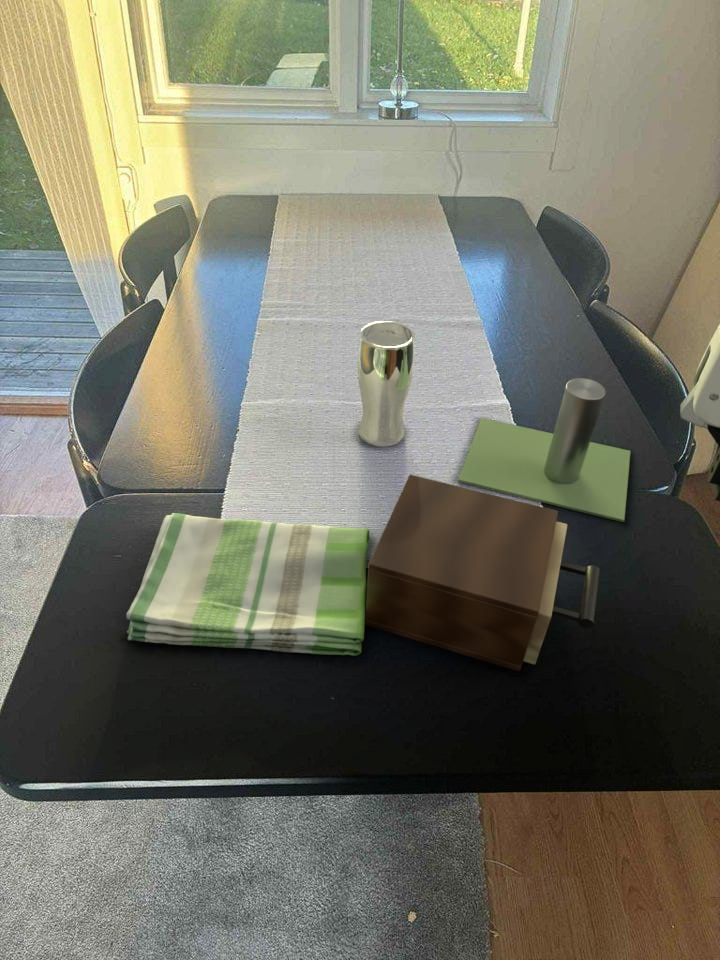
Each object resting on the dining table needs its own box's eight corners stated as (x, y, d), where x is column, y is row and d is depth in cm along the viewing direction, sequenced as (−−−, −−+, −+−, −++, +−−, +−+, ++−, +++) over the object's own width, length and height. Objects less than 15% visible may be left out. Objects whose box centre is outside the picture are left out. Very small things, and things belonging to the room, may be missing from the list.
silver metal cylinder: (580, 466, 89) (607, 382, 81) (577, 487, 86) (604, 402, 78) (546, 458, 90) (568, 375, 82) (541, 479, 87) (564, 394, 79)
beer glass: (417, 433, 94) (428, 334, 84) (383, 456, 90) (389, 355, 81) (379, 411, 98) (385, 314, 88) (344, 432, 94) (346, 333, 84)
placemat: (629, 453, 93) (630, 450, 92) (623, 522, 82) (624, 520, 82) (481, 420, 97) (481, 417, 97) (458, 482, 87) (458, 479, 87)
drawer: (591, 582, 74) (609, 534, 69) (579, 678, 65) (599, 630, 60) (422, 537, 78) (428, 489, 74) (388, 621, 69) (393, 572, 65)
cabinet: (540, 570, 76) (558, 510, 70) (519, 671, 67) (538, 611, 61) (403, 534, 80) (409, 473, 74) (364, 625, 70) (368, 563, 64)
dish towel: (169, 523, 80) (164, 500, 78) (369, 533, 80) (370, 511, 77) (124, 648, 67) (117, 625, 65) (363, 661, 67) (364, 639, 65)
